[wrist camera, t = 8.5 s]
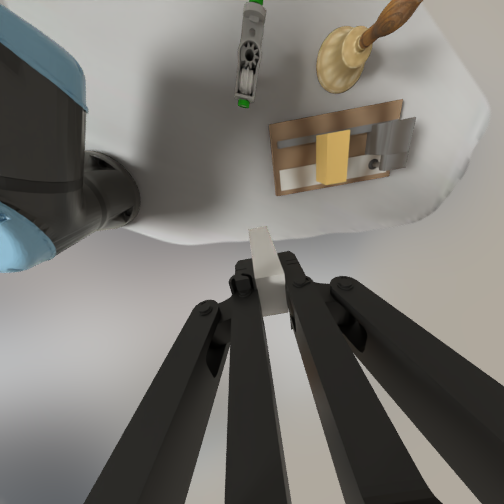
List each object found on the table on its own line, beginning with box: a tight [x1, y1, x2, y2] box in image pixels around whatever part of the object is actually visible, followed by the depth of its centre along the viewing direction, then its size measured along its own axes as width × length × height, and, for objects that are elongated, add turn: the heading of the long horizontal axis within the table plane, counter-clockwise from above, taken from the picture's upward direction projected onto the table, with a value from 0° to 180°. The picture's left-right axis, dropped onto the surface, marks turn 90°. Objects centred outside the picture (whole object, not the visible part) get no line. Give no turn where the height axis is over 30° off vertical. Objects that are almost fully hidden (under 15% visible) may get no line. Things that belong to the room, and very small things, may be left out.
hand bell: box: [316, 0, 423, 94], centre depth 25 cm, size 8×8×16 cm
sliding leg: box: [316, 130, 350, 185], centre depth 34 cm, size 4×8×6 cm, turn 9°
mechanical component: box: [235, 0, 266, 108], centre depth 28 cm, size 3×10×10 cm, turn 170°
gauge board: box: [269, 99, 416, 196], centre depth 35 cm, size 24×13×8 cm, turn 99°
